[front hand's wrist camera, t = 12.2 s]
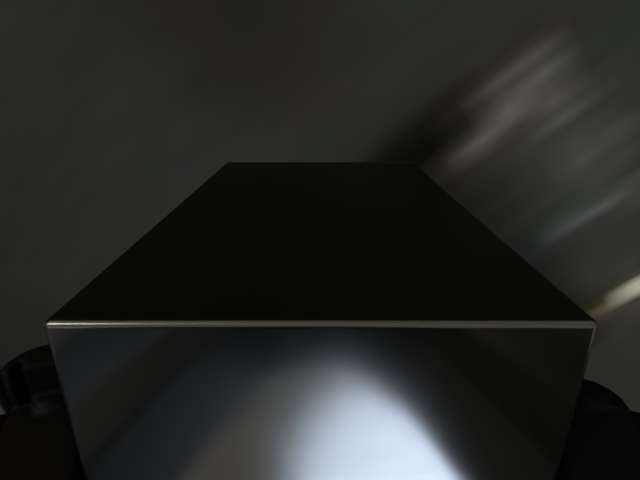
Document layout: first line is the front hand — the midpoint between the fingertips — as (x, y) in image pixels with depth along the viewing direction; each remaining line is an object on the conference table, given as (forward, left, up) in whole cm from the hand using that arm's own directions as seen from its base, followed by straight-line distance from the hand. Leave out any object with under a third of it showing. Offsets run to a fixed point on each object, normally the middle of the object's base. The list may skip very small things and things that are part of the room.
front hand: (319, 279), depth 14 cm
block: (0, 0, -2) cm, 2 cm away
